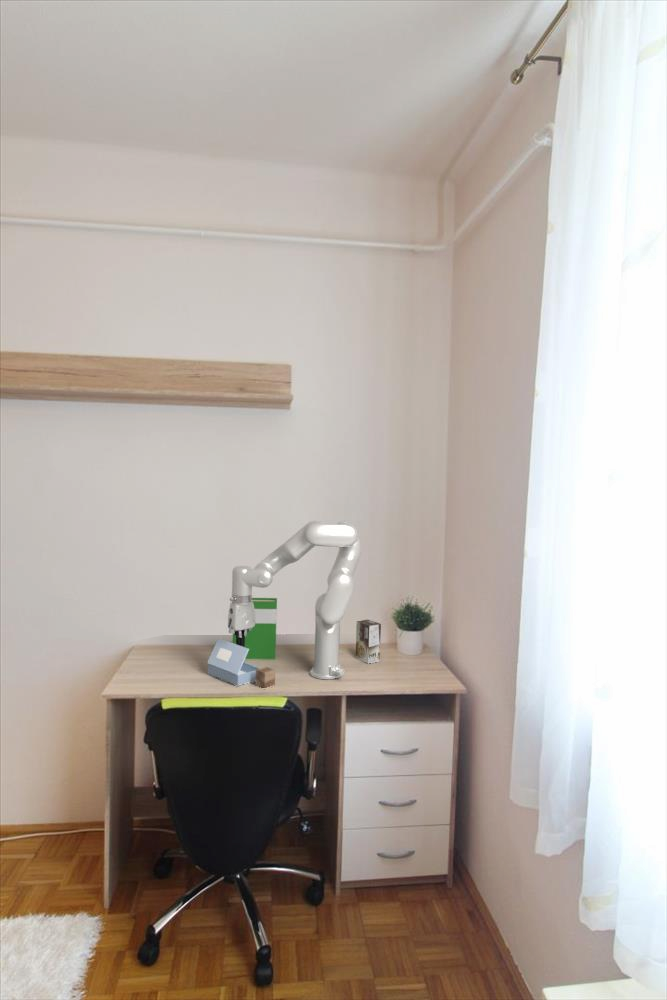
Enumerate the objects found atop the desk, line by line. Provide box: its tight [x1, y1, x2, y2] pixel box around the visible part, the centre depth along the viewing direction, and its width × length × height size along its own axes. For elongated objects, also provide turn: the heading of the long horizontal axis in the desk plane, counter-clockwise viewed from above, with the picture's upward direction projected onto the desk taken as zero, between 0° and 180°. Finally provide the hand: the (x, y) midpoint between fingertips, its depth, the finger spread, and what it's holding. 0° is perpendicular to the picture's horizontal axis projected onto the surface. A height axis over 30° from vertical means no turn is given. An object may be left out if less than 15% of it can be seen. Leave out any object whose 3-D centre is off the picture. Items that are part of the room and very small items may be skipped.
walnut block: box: [255, 666, 276, 689], centre depth 244 cm, size 5×5×6 cm
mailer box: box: [207, 661, 262, 687], centre depth 253 cm, size 18×12×4 cm, turn 47°
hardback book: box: [232, 597, 278, 660], centre depth 279 cm, size 18×7×24 cm, turn 94°
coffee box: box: [355, 619, 382, 665], centre depth 278 cm, size 9×6×16 cm
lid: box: [207, 638, 249, 675], centre depth 250 cm, size 18×10×1 cm
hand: (240, 646), depth 254 cm, fingers closed
